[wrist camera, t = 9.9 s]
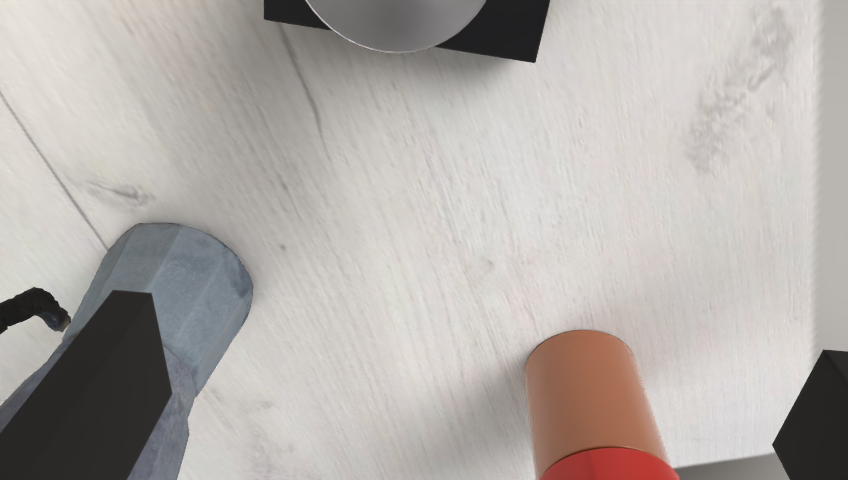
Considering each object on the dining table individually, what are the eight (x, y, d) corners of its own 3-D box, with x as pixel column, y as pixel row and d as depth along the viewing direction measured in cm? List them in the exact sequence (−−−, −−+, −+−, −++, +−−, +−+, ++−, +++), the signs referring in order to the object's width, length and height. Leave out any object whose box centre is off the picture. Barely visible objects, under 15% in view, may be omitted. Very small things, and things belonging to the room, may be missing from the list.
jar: (652, 338, 39) (714, 500, 29) (617, 418, 43) (661, 585, 33) (538, 321, 39) (562, 479, 29) (513, 402, 43) (527, 566, 33)
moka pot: (184, 381, 43) (3, 722, 26) (33, 196, 36) (-349, 502, 19) (305, 345, 41) (190, 695, 24) (169, 140, 34) (-131, 432, 17)
